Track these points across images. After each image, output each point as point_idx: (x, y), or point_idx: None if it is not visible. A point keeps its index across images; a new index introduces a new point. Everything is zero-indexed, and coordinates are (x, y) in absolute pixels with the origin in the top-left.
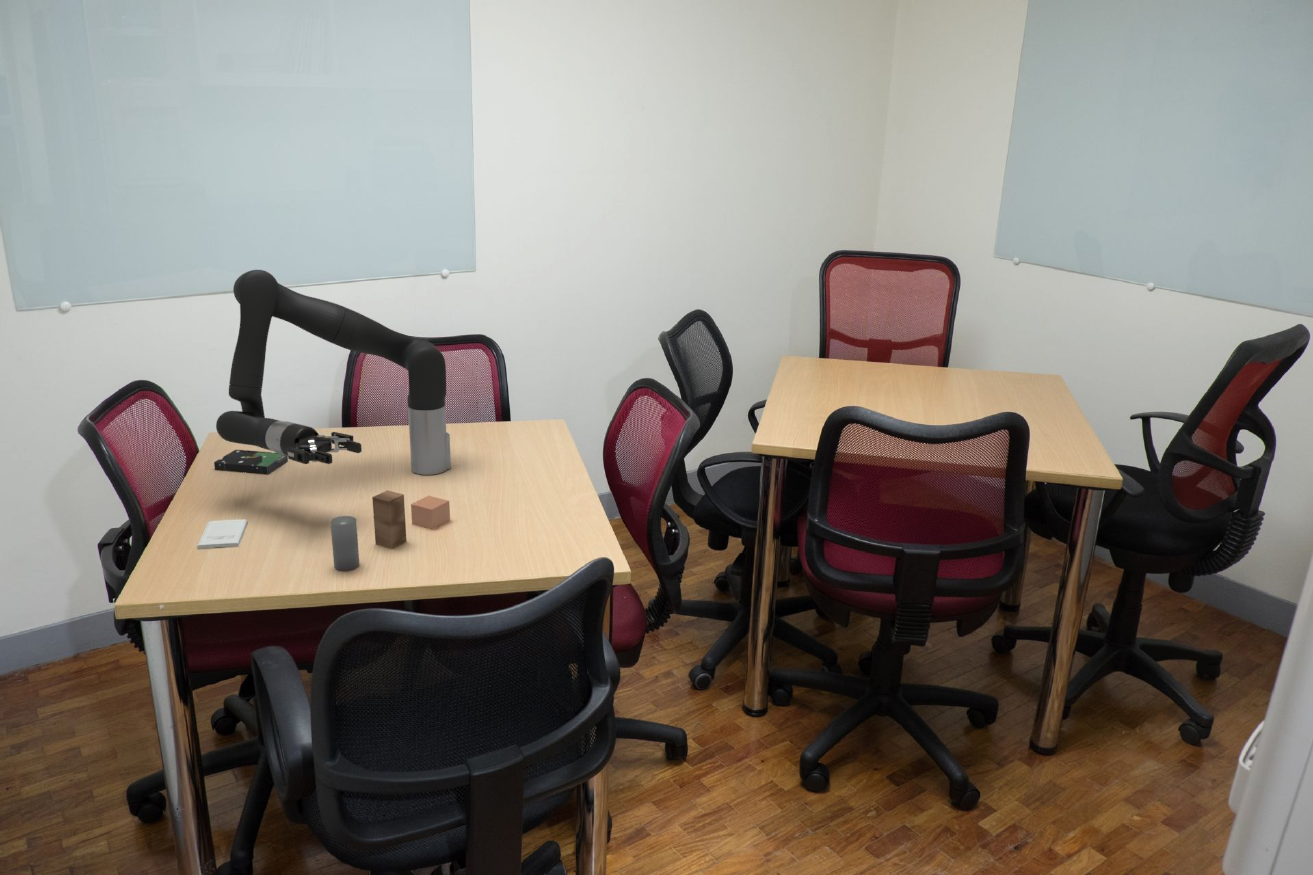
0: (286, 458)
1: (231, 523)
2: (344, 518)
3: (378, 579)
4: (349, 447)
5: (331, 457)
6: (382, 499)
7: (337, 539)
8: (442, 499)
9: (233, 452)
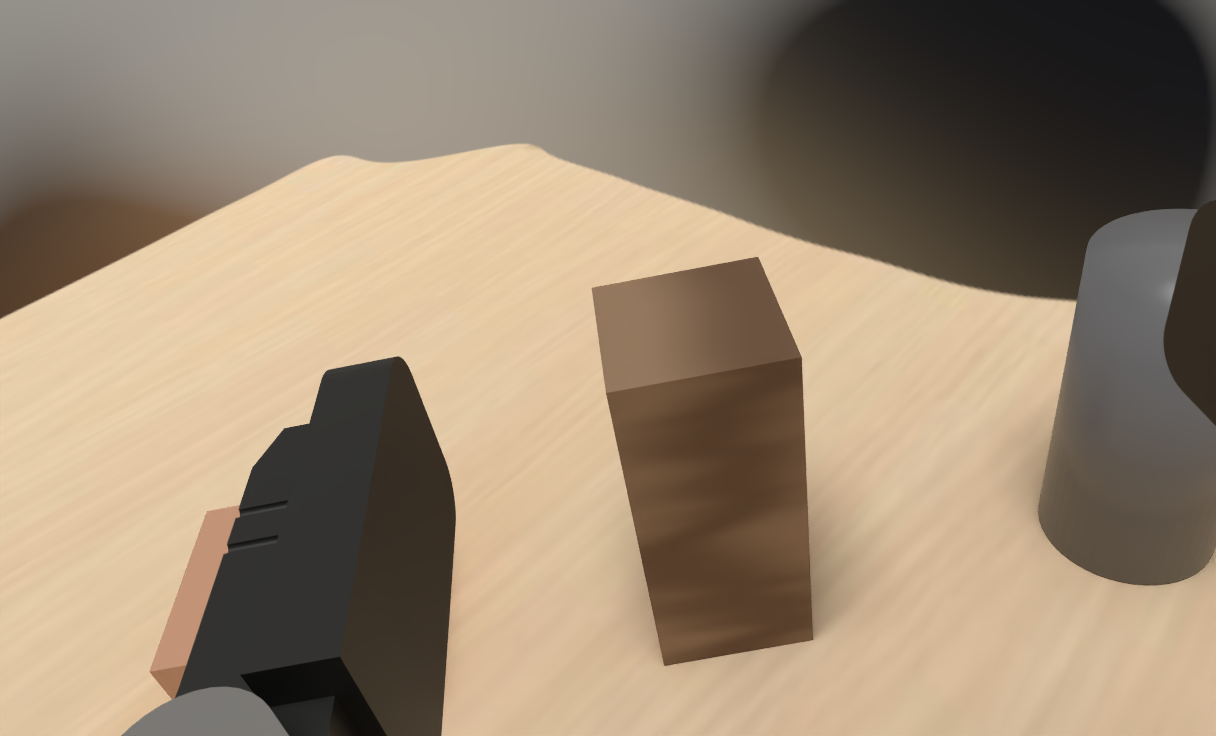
0: None
1: None
2: (1171, 280)
3: (1024, 340)
4: (413, 668)
5: (1204, 242)
6: (768, 295)
7: None
8: (197, 552)
9: None
